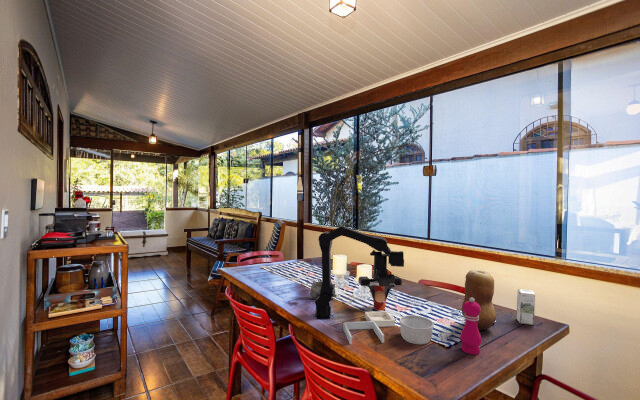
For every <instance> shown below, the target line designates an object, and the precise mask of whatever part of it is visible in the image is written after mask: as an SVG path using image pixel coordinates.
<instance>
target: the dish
mask: <svg viewBox="0 0 640 400" xmlns="http://www.w3.org/2000/svg"><path fill="white" fill-rule="evenodd" d="M364 318H365V321H375V323H376V324H377V326H378V327H379V328H381V327H384V328H385V327H395V325H396V321H395V318H394V317H393V316H392V315H391V314H390V313H389V311H387V310H377V311H364Z"/></svg>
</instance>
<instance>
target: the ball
mask: <svg viewBox="0 0 640 400" xmlns="http://www.w3.org/2000/svg"><path fill="white" fill-rule="evenodd" d="M375 300H376V301H377V302H383V301H384V300H385V294H384V293H383V292H382V291H377V292H376V293H375Z"/></svg>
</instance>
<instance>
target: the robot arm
mask: <svg viewBox="0 0 640 400" xmlns="http://www.w3.org/2000/svg"><path fill="white" fill-rule="evenodd" d="M341 236H344V237H346V238H349V239H352V240H355V241H358V242H359V243H360V242H361V243H362V244H366V245H367V246H369V247H370V248H372V251H371V252H370V253H369V256H373V267H372V268H373V275H372V278H369V277H368V276H359V277H358V284H359V285H360V286H361V287H367V288H368V289H369V291H370V294H371V297H372V300H373V301H374V300H375V292H374V288H375V286H374V285H373V283H379V286H381V287H383V286H385V289H384V294H385V300H386V301H387V299H388V295H389V293H390V291H391V290H392V289H393V288H395V287H396V286H402V285H403V281H402V279H401V278H400V276H398V275H395V274H389V271H388V268H387V267H388V266H387V265H390V267H397V268H398V267H399V268H400V267H401V268H404V267H405V259H404V251H402V250H399V251H396V250H395V251H394V250H391V248H390V247H389V246H388V241H387V239H386V238H385V237H383V236H378V235H369V234H366V233H364V232H360V231H358V230H356V229H351V228H348V227H347V226H344V225H341V226H339V227H337V228H335V229H332V230H331V231H323V232H321V234H320V235H319V236H318V238H317V239H318V245H319V249H320V251H321V279H322V280H321V281H322V286H321V290H320V295H319V296H318V297H317V299H315V301H314V303H315V312H314V315H315V319H316V320H324V319H329V320H330V319H331V314H332V312H331V311H332V306H331V303H330V302H331V301H332V299H333V298H334V297H333V296H334V294H336V290H335V289H336V284H335V283H333V282H332V267H331V266H332V265H331V264H332V263H331V261H332V260H331V258H332V256H331V250H332V247H333V246H332V245H333V240H335V239H337V238H340V237H341Z"/></svg>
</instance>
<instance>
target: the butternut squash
mask: <svg viewBox="0 0 640 400" xmlns="http://www.w3.org/2000/svg"><path fill="white" fill-rule="evenodd" d="M494 293H495V280H494V276H493V275H492V274H491V273H490V272H488V271H485V270H477V269H471V270H469V271H468V272H466V275H465V280H464V298H463V302H462V304H461V314H462V316H463V317H464V313H465V312H464V311H463V305H464V303H465V302H467V301H469V299H470V298H471V297H472V298H474V300H475V301H474V302H476V303H477V304H479V306H480V308H481V312H480V314H479V315H478V316H479V320H478V322H477V326H478V330H479V331H484V330H487V329H489V328H490V327H492V326H493V325H494V323H495V322H496V318H497V313H496V309H495V307H494V304H493V297H494Z"/></svg>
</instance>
